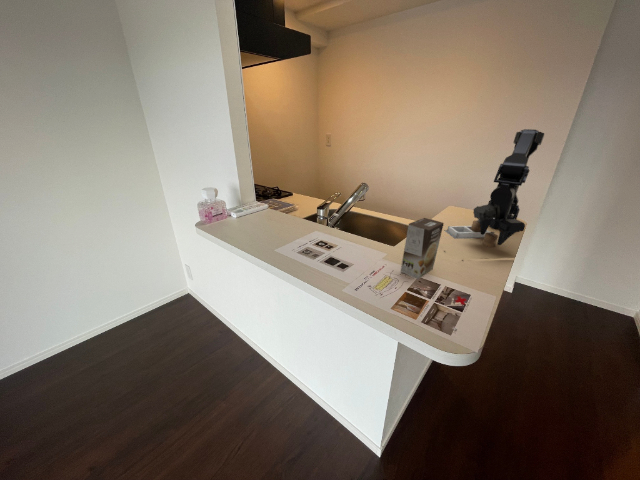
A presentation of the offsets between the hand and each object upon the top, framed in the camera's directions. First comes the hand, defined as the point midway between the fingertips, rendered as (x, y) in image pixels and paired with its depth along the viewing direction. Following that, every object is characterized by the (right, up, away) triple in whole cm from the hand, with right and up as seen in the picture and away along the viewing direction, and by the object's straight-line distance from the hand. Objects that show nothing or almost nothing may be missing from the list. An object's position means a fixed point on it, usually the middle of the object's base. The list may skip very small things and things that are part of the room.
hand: (490, 239), depth 95 cm
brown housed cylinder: (0, +2, +10) cm, 10 cm away
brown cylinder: (0, -3, +1) cm, 3 cm away
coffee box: (-33, -10, -15) cm, 37 cm away
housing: (-3, +1, +10) cm, 11 cm away
